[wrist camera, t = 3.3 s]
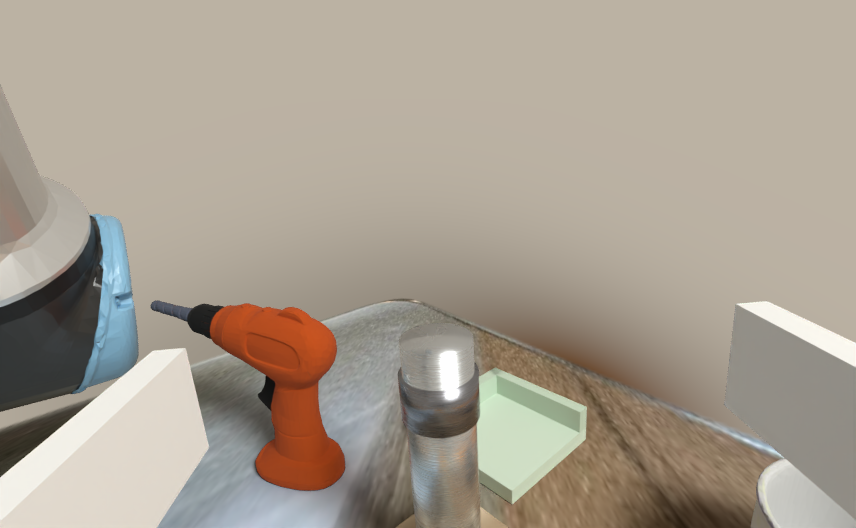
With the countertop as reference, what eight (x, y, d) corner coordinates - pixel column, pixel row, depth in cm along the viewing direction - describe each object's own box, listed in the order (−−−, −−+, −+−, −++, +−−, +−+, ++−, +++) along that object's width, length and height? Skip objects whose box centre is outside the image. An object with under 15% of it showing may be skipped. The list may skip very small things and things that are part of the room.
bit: (404, 588, 27) (378, 340, 23) (452, 546, 30) (437, 315, 25) (452, 640, 24) (433, 367, 20) (501, 589, 27) (494, 336, 22)
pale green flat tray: (422, 442, 41) (419, 411, 40) (495, 395, 47) (495, 367, 46) (512, 504, 34) (511, 467, 33) (585, 439, 40) (586, 407, 39)
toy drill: (192, 406, 46) (173, 265, 42) (356, 466, 40) (356, 307, 35) (147, 436, 42) (120, 282, 37) (323, 508, 36) (318, 334, 31)
